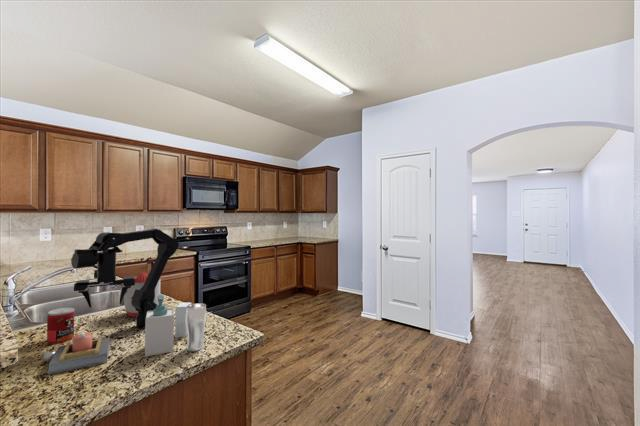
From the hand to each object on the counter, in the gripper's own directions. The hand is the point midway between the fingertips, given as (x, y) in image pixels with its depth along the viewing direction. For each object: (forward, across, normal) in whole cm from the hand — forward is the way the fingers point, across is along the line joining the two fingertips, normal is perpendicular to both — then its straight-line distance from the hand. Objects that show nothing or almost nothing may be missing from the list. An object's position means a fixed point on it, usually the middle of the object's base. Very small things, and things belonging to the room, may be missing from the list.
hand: (105, 305), depth 112 cm
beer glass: (+13, -28, +26) cm, 40 cm away
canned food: (+13, +14, -7) cm, 20 cm away
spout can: (+12, +5, +16) cm, 21 cm away
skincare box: (+13, -26, +11) cm, 31 cm away
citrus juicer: (+13, -12, -26) cm, 31 cm away
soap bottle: (+13, -17, +21) cm, 30 cm away
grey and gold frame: (+13, +7, +16) cm, 21 cm away
